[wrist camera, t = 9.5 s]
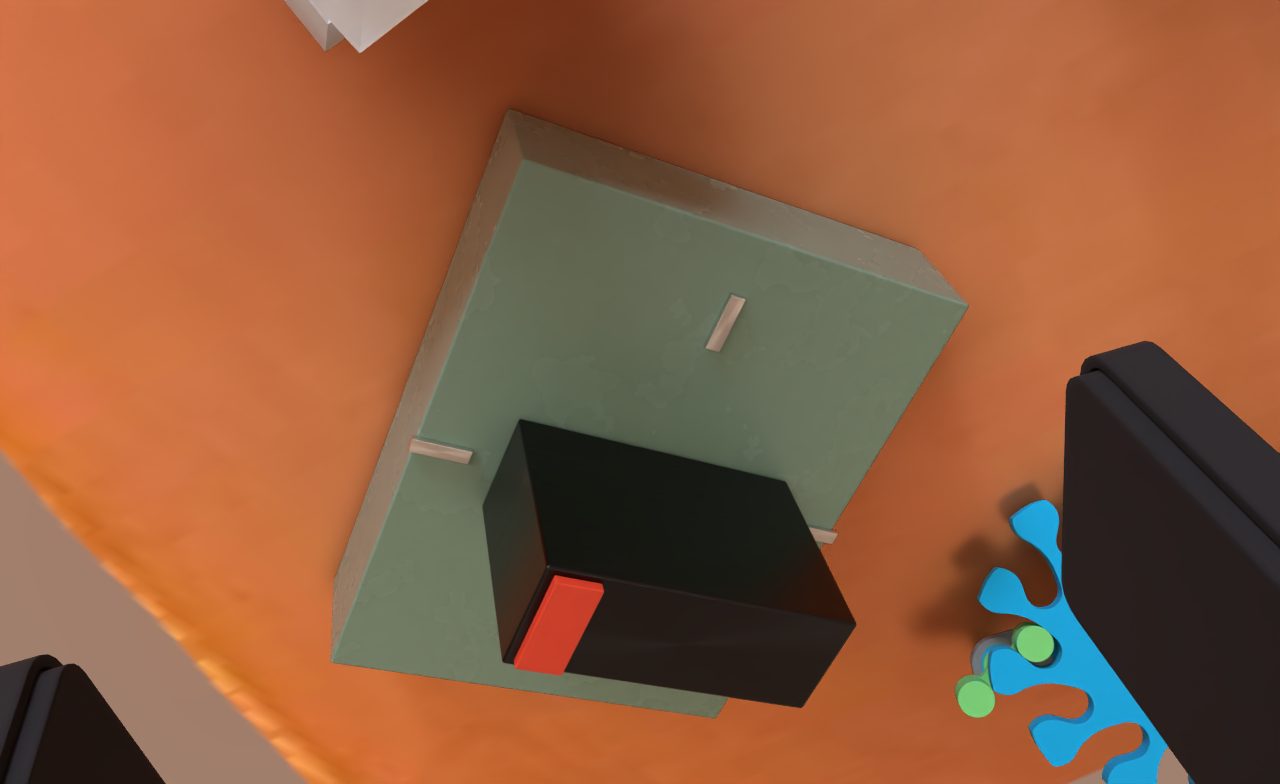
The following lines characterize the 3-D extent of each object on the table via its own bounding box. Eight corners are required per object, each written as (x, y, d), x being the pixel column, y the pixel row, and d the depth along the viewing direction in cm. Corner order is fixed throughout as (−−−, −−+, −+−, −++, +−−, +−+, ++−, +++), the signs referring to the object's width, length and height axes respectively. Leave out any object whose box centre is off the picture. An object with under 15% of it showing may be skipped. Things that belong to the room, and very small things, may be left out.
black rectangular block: (786, 480, 28) (862, 633, 24) (742, 558, 29) (806, 718, 25) (518, 417, 25) (548, 575, 21) (481, 506, 26) (502, 673, 22)
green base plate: (503, 105, 25) (518, 159, 22) (922, 250, 29) (977, 310, 26) (329, 581, 31) (325, 667, 28) (694, 643, 35) (720, 724, 32)
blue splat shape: (1282, 403, 32) (1427, 760, 30) (1218, 420, 37) (1337, 720, 36) (897, 522, 33) (1014, 865, 32) (893, 521, 39) (992, 811, 38)
